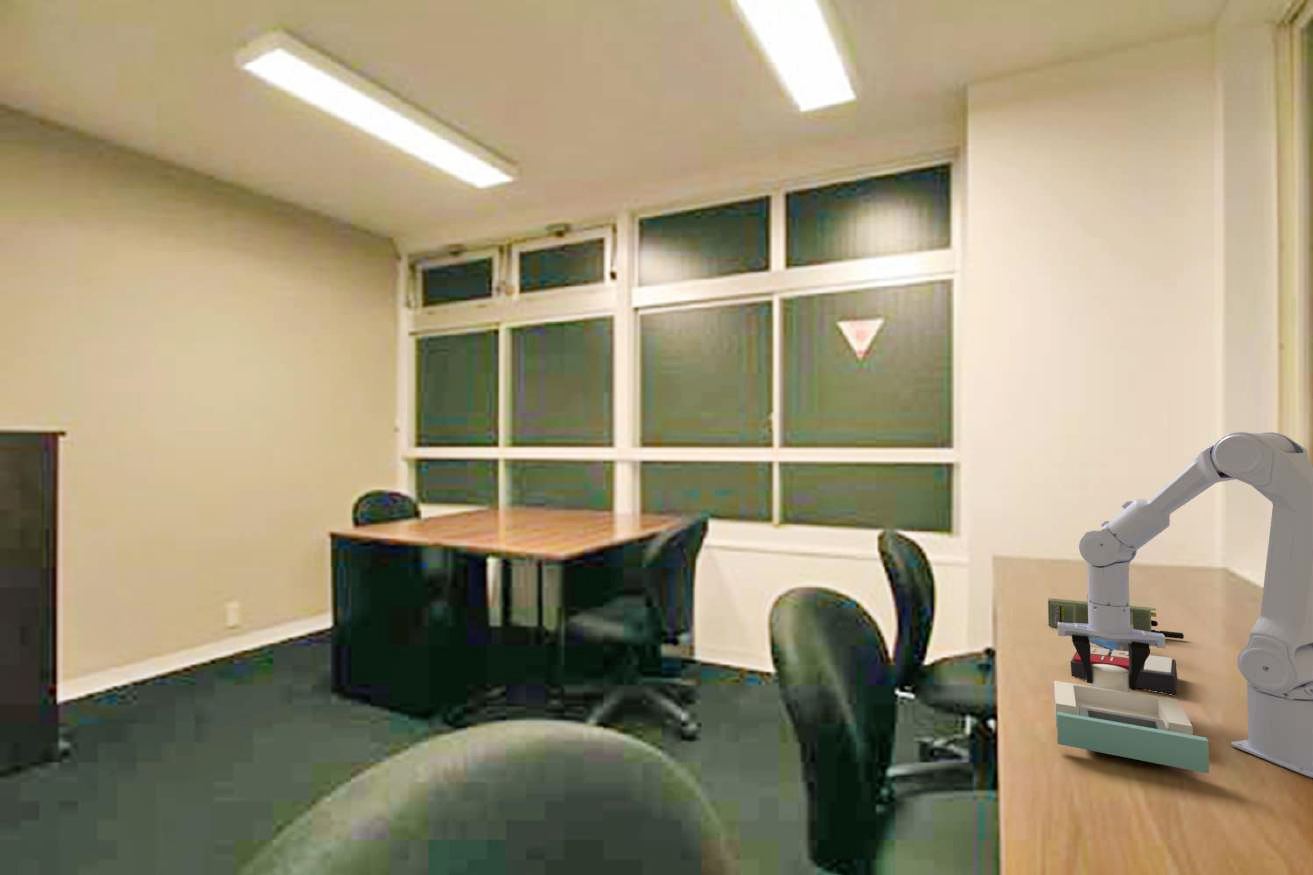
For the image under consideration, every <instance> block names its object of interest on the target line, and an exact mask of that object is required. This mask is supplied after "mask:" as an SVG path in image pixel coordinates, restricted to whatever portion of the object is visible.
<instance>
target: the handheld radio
mask: <svg viewBox="0 0 1313 875" xmlns="http://www.w3.org/2000/svg"><path fill="white" fill-rule="evenodd" d="M1047 609H1048V610H1047V614H1048V619H1047V620H1048V624H1047V625H1048V627H1049V628H1057V629H1058V622H1062V623H1081V624H1088V601H1087V600H1073V599H1062V598H1052V597H1051V598H1050V597H1048V598H1047ZM1152 611H1157V608H1156V607H1150V606H1148V607H1147V606H1140V605H1139V606H1137V605H1130V612H1132V613H1133V629H1136V630H1142V631H1147V632H1154V633H1161V634H1163V635H1164V636H1165V638H1170V639H1179V640H1183V639H1184V638H1185V635H1184V632H1176V631H1167V630H1156V629H1152V627H1157V626H1158V625H1159V623H1158V621H1157V620H1152V617H1153V618H1154V617H1155V618H1156V617H1157V613H1156V612H1152Z"/></svg>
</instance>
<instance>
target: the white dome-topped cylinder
mask: <svg viewBox="0 0 1313 875" xmlns="http://www.w3.org/2000/svg"><path fill="white" fill-rule="evenodd" d="M1091 673H1092V684H1091V686H1092V687H1099V688H1105V689H1112V690H1118V691H1125V692H1131V691H1130V690H1131V689H1130V678H1129V671H1128V670H1126V669H1124V668H1121V667H1118V666H1113V665H1107V664H1094V665H1092V666H1091Z"/></svg>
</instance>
